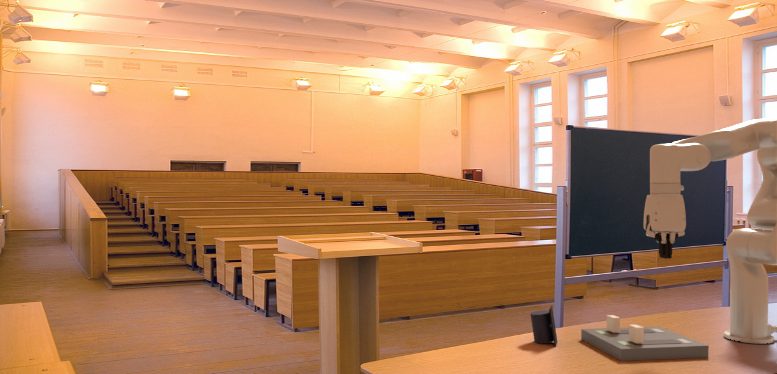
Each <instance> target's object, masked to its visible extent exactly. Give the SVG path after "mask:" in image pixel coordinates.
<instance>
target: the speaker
mask: <svg viewBox="0 0 777 374" xmlns="http://www.w3.org/2000/svg"><path fill="white" fill-rule="evenodd" d="M529 315H530V319H531V320H530V321H531V327H532V333H533V341H534V343H536V344H548V343H553V345H554V346H553V347H557V345H558V336H557V335H558V334H557V331H556V323H555V317H554V310H553V305H552V304H551V305H550V306H549V309H547V310H545V309H544V310H542V309H541V310H536V311H531V313H530V314H529Z"/></svg>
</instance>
